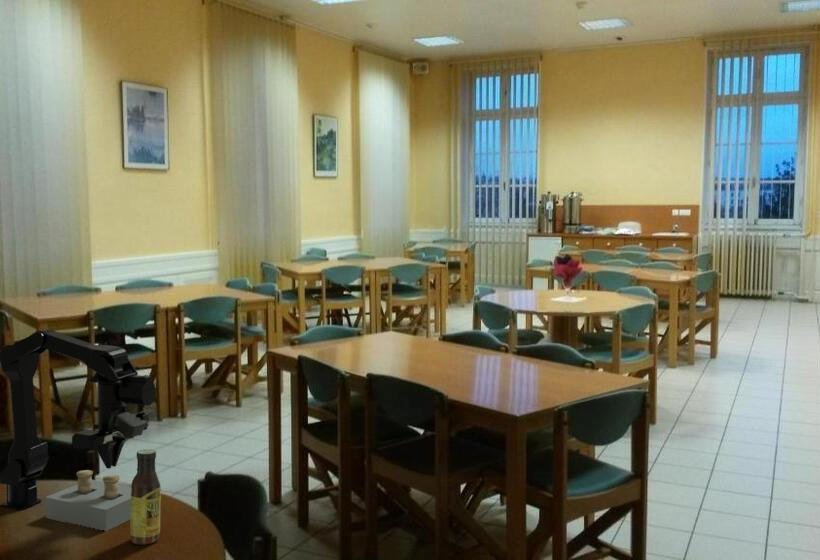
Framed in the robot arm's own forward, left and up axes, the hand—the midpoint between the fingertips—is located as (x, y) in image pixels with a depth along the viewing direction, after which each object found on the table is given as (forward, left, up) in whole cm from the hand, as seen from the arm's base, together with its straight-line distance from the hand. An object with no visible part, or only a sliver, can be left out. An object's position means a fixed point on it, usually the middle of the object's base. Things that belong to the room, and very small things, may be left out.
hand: (111, 467), depth 184 cm
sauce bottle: (+16, -7, -12) cm, 21 cm away
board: (-4, 0, -12) cm, 13 cm away
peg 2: (0, 0, -8) cm, 8 cm away
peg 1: (-8, 0, -8) cm, 11 cm away
